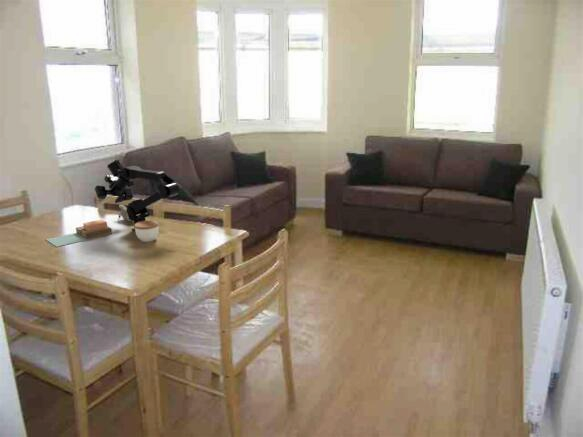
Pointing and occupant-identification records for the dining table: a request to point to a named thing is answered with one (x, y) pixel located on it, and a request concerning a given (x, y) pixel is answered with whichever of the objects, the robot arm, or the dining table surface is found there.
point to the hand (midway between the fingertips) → (106, 202)
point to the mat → (66, 239)
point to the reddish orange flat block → (95, 225)
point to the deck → (93, 232)
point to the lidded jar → (146, 230)
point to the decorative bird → (124, 213)
